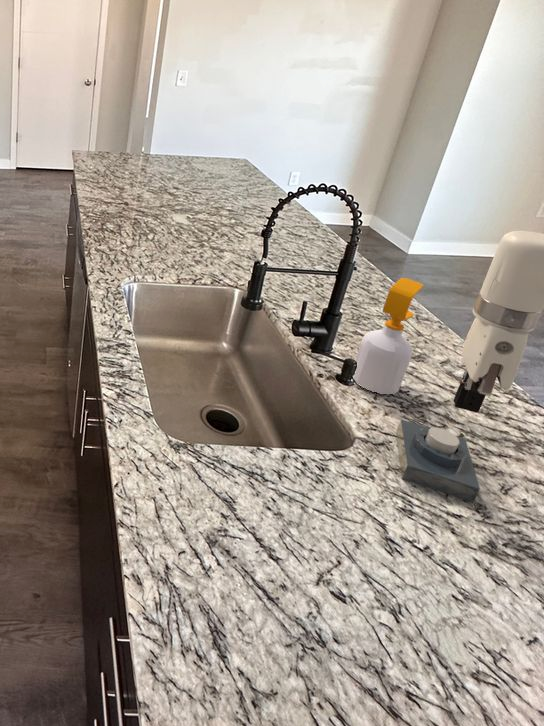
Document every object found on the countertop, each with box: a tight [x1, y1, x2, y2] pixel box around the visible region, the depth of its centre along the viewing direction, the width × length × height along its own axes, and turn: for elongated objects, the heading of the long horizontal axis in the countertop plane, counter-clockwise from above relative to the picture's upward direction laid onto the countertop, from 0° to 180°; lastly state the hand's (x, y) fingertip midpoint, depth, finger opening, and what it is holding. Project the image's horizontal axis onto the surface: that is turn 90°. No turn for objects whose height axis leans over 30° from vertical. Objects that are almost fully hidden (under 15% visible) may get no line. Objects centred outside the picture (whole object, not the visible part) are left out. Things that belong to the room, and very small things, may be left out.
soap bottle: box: [354, 277, 424, 395], centre depth 111 cm, size 9×9×25 cm
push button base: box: [395, 418, 481, 504], centre depth 94 cm, size 10×13×5 cm
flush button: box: [425, 427, 460, 454], centre depth 93 cm, size 4×4×2 cm
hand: (465, 406), depth 89 cm, fingers closed
